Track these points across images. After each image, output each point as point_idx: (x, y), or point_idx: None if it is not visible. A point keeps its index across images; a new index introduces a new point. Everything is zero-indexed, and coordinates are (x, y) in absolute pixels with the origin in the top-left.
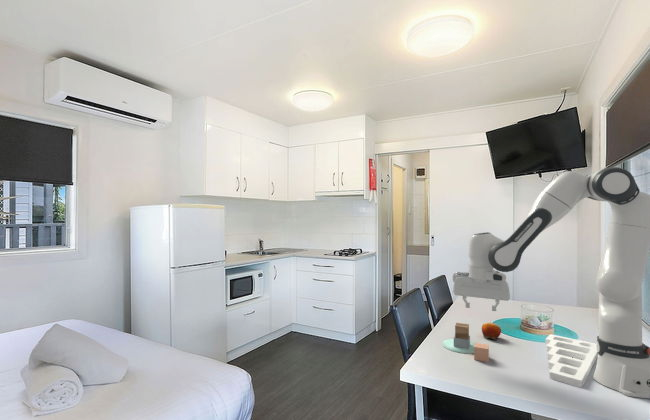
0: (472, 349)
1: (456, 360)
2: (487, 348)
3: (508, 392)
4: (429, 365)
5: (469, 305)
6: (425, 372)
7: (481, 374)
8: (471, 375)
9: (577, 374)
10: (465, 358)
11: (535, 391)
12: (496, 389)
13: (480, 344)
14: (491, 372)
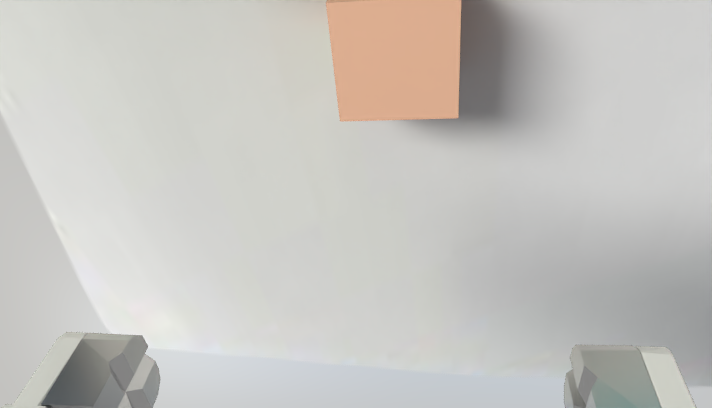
0: None
1: (253, 145)
2: (451, 108)
3: (536, 360)
4: (160, 266)
5: (124, 375)
6: (183, 330)
7: (419, 259)
8: (373, 286)
9: None
10: (294, 83)
11: (667, 319)
12: (487, 356)
13: (384, 32)
14: (471, 217)
